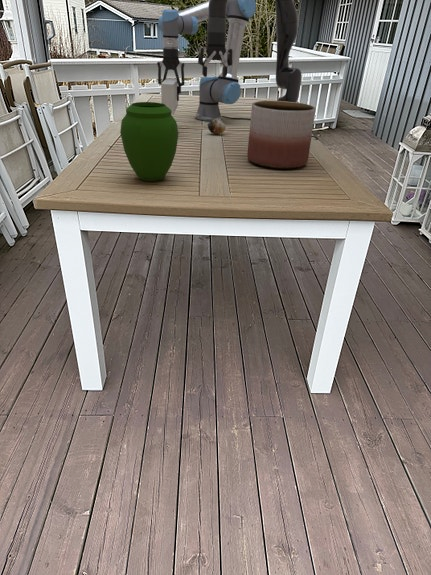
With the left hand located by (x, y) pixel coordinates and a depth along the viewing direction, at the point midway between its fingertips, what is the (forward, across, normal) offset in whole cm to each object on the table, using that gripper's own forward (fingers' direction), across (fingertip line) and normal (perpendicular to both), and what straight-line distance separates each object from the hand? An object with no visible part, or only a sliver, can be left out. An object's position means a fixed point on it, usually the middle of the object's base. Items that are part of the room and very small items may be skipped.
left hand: (171, 100), depth 210 cm
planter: (+15, +49, -55) cm, 75 cm away
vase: (+14, 0, -84) cm, 86 cm away
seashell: (+15, +24, -6) cm, 28 cm away
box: (+3, 0, -8) cm, 9 cm away
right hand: (-15, +22, -38) cm, 46 cm away
